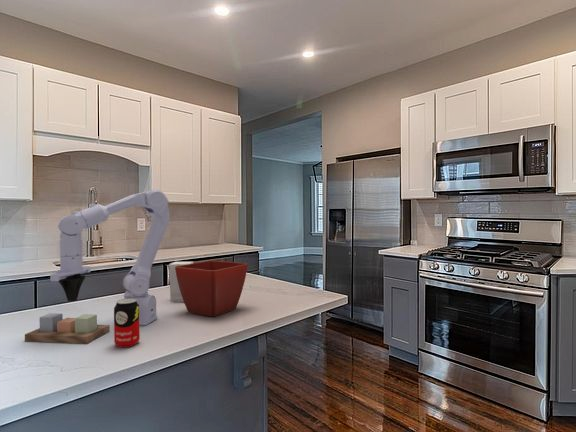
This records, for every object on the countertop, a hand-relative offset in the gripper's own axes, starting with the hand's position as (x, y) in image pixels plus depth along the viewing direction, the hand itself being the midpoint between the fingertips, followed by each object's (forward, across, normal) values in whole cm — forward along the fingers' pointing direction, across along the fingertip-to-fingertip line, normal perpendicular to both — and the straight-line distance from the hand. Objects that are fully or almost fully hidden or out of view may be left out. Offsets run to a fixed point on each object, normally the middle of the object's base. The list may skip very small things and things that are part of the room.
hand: (72, 300), depth 107 cm
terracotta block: (+9, +3, +1) cm, 10 cm away
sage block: (+8, +3, +6) cm, 11 cm away
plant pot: (+10, -27, +35) cm, 45 cm away
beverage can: (+10, +7, +21) cm, 24 cm away
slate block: (+8, +3, -5) cm, 10 cm away
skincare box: (+10, -40, +18) cm, 45 cm away
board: (+10, +3, +1) cm, 10 cm away
